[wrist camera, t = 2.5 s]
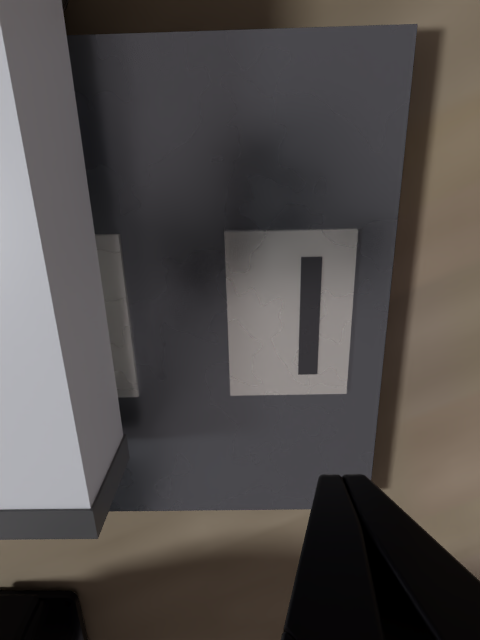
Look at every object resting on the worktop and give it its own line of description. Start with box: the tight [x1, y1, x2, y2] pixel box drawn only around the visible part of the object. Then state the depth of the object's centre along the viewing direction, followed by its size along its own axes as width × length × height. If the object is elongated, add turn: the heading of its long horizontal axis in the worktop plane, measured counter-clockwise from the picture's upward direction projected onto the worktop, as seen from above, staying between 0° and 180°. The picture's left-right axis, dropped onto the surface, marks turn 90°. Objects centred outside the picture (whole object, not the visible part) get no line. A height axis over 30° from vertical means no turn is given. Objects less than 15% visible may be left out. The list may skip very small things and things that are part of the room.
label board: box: [62, 0, 417, 511], centre depth 17 cm, size 24×16×2 cm
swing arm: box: [0, 0, 130, 540], centre depth 13 cm, size 20×4×4 cm, turn 1°
